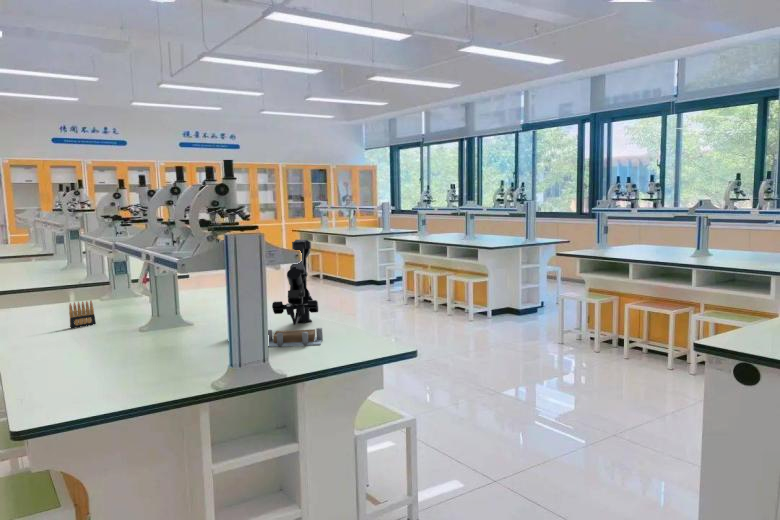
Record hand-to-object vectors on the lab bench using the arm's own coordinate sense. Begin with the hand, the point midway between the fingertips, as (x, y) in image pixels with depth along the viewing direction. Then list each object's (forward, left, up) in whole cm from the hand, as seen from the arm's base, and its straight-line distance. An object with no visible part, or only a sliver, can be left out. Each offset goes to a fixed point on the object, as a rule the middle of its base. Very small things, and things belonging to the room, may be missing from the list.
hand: (294, 324), depth 237 cm
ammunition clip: (-73, -85, -7) cm, 112 cm away
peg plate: (+4, -1, -7) cm, 8 cm away
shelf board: (-2, +1, -4) cm, 5 cm away
